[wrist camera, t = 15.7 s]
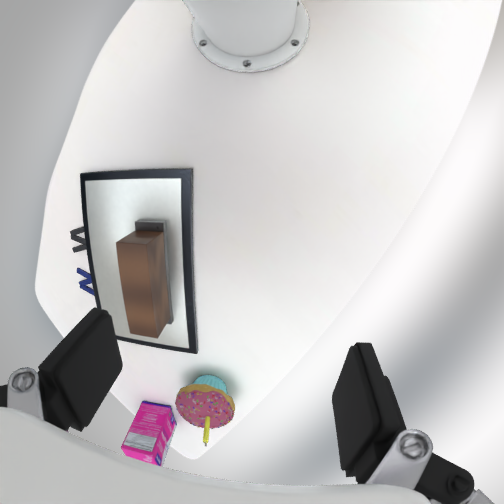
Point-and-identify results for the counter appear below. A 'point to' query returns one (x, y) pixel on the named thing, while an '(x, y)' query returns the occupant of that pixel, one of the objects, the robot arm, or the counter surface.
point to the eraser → (146, 278)
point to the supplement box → (150, 433)
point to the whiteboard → (123, 223)
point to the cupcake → (205, 404)
